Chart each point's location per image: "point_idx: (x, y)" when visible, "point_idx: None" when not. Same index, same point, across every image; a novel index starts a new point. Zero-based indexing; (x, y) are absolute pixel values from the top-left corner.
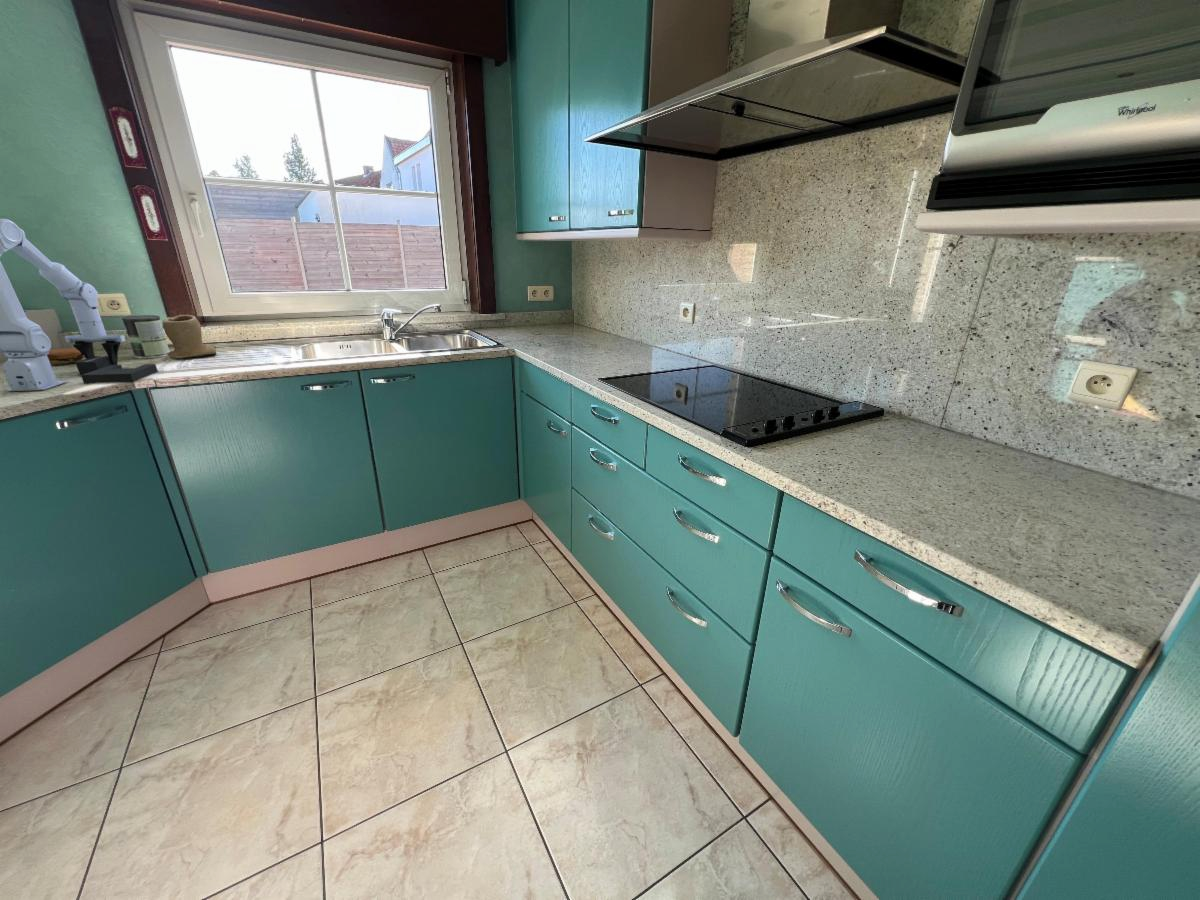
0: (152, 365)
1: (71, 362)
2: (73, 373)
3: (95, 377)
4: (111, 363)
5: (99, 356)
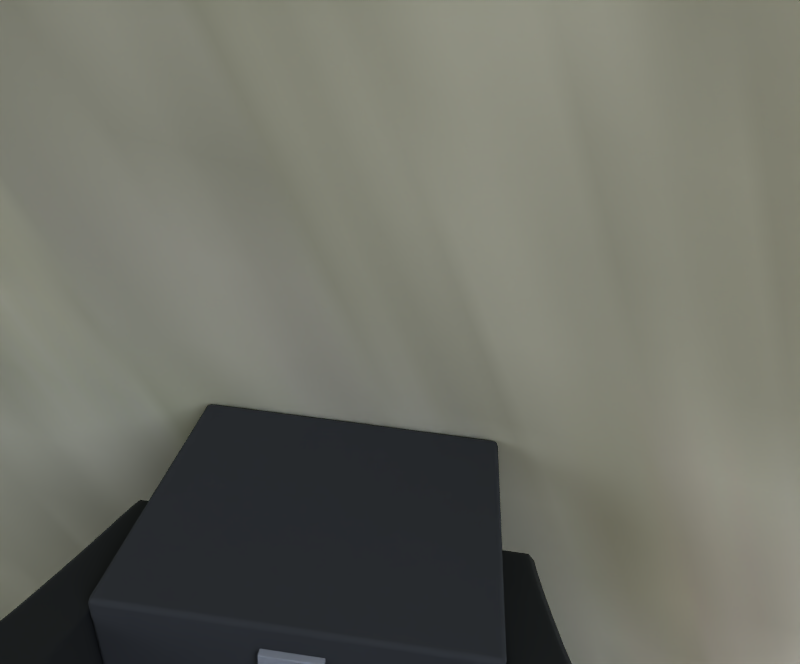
0: None
1: None
2: None
3: None
4: None
5: (202, 662)
